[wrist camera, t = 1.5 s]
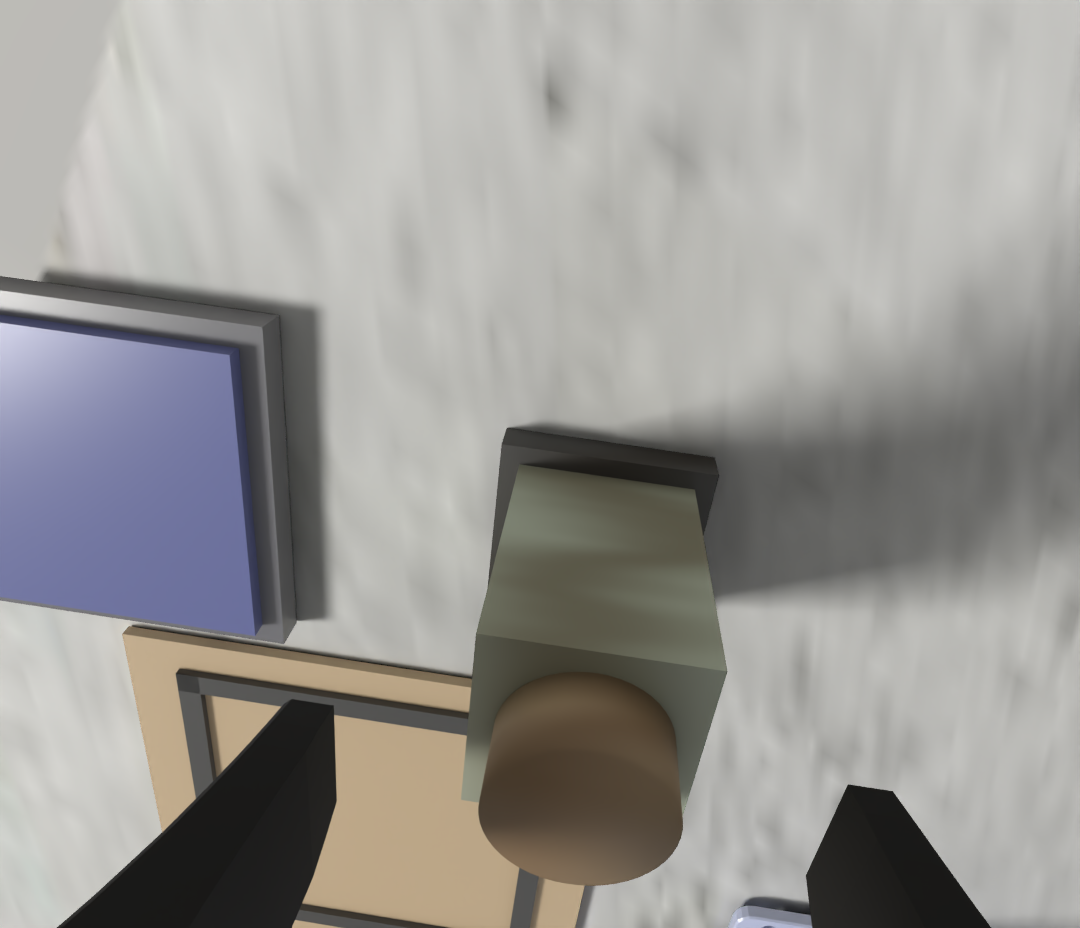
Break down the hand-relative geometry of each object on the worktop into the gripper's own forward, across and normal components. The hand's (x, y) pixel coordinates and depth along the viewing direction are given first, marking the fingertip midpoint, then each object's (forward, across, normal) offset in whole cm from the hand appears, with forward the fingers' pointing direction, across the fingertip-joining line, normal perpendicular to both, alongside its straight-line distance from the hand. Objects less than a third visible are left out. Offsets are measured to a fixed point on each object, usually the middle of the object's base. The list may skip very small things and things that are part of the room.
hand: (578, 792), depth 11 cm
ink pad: (+7, +11, 0) cm, 13 cm away
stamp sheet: (+7, +5, +11) cm, 14 cm away
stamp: (+7, 0, 0) cm, 7 cm away
